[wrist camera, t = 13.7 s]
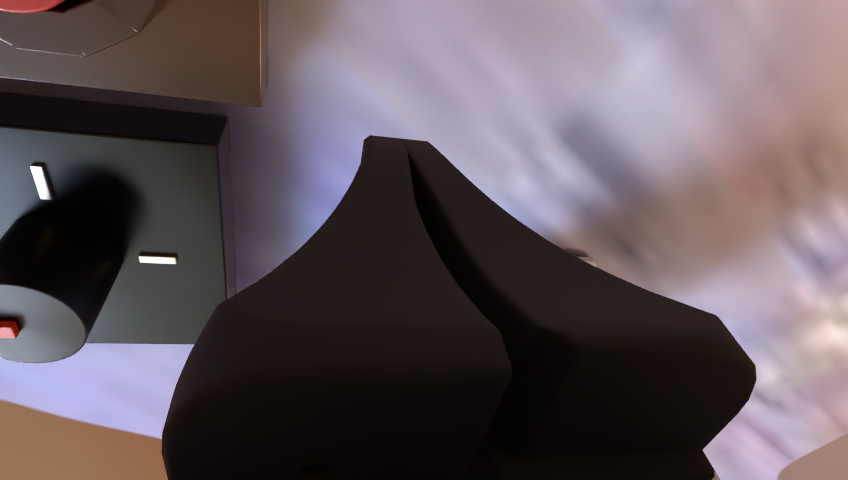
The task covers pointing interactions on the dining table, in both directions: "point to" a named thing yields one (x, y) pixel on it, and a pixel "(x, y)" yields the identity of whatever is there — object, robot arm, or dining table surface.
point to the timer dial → (52, 286)
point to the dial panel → (130, 204)
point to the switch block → (144, 47)
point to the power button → (27, 5)
